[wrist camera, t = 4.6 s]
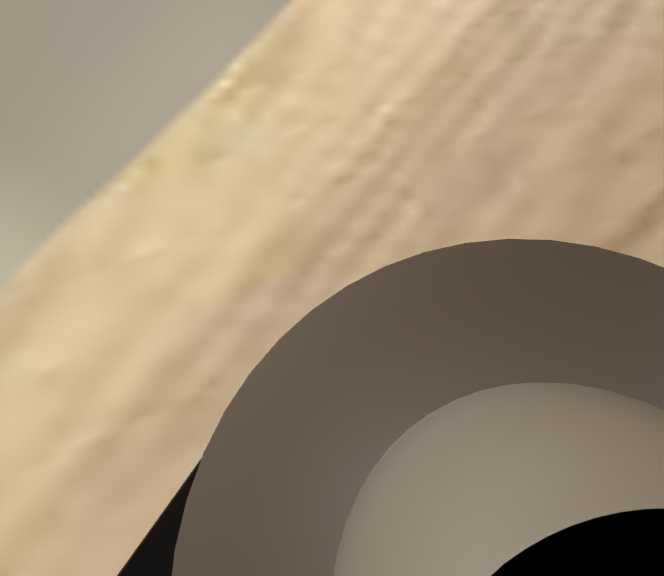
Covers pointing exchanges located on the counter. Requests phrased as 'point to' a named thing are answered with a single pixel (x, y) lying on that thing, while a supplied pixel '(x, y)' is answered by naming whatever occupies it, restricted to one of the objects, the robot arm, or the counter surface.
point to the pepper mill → (449, 426)
